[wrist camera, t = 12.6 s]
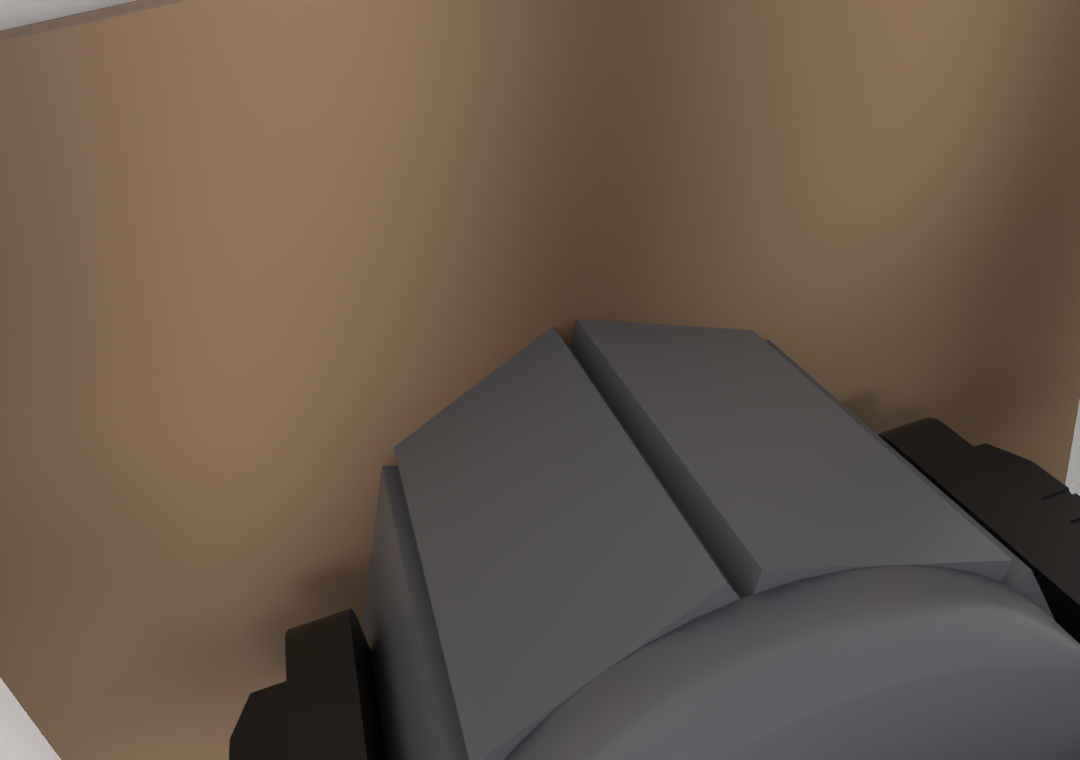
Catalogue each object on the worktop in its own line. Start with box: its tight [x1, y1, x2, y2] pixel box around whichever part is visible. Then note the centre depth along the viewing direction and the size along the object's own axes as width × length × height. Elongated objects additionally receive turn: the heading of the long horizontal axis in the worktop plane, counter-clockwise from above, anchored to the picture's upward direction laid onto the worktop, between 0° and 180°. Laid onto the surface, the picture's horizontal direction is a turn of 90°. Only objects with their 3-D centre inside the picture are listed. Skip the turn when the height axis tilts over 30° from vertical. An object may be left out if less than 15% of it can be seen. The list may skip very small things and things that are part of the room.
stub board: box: [0, 0, 1080, 760], centre depth 10 cm, size 14×14×5 cm
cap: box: [363, 319, 1080, 760], centre depth 9 cm, size 6×6×5 cm
